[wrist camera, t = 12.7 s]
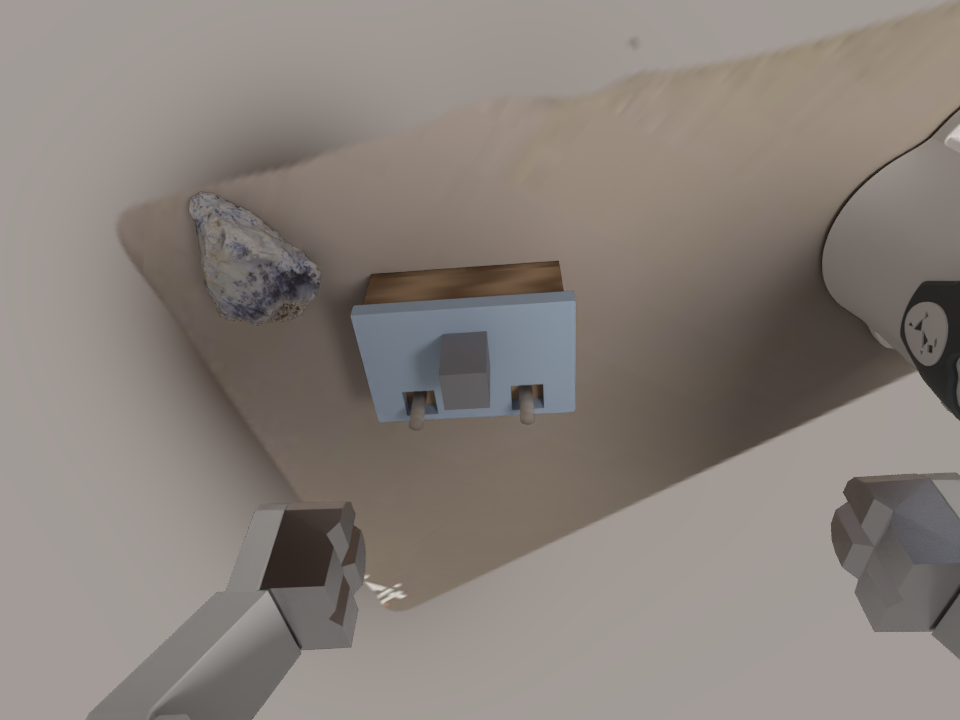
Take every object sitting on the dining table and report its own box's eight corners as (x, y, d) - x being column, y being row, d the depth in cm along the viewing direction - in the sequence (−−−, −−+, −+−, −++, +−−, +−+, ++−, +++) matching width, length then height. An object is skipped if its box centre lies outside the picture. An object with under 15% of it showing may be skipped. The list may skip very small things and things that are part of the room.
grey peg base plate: (573, 290, 42) (583, 341, 38) (573, 401, 48) (581, 455, 44) (353, 305, 43) (337, 356, 39) (380, 411, 49) (370, 465, 45)
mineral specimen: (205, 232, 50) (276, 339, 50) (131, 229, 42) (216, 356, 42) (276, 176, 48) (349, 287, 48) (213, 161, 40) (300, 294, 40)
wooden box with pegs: (558, 260, 46) (569, 328, 40) (560, 356, 52) (569, 429, 45) (371, 274, 47) (351, 342, 41) (392, 366, 53) (378, 439, 46)
